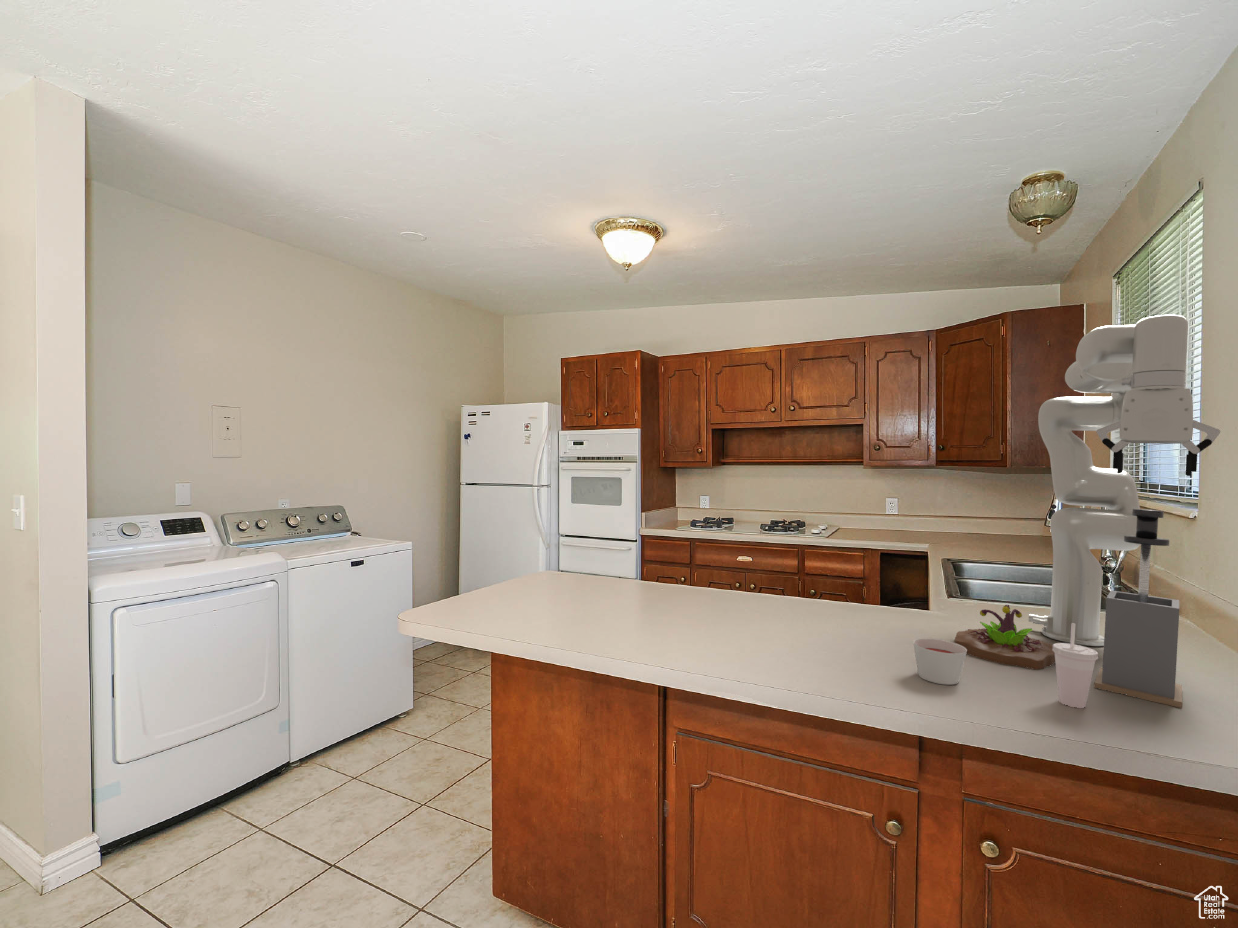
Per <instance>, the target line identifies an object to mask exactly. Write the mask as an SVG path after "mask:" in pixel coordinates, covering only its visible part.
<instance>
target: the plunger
mask: <svg viewBox="0 0 1238 928" xmlns="http://www.w3.org/2000/svg"><path fill="white" fill-rule="evenodd" d="M1164 514H1165V513H1164V510H1157V509H1145V508H1140V509H1132V516H1137V524H1136V536H1132V535H1125V536H1124V541H1125V542H1129V543H1136V544H1141V545H1140V556H1139V558H1140V559H1139V573H1138V575H1139V577H1138V591H1137V594H1138V602H1144V603H1148V596H1149V589H1150V588H1149V587H1150V573H1151V572H1150V571H1151V570H1150V568H1151V554H1152V553H1151V552H1152V551H1151V550H1152V548H1151V547H1152V546H1159V547H1166V546H1167V547H1168V546H1170V539H1168V538H1163V537H1158V530H1159V529H1158V527H1159V519H1160V518H1161V519H1164Z"/></svg>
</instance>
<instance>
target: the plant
mask: <svg viewBox="0 0 1238 928" xmlns="http://www.w3.org/2000/svg"><path fill="white" fill-rule="evenodd" d="M1001 610H1002V613H1004V614H1005V615H1004V618H1002V617H1001V616H1000V615H999V614H998V613H997V612H995V611H993V610H990V609H981V610H980V611H979V614H980V616H982V617H985V616H987V614H988V613H989V614H991V615H993V616H994V617H995V618H996V619H997V620H998V622H999V623H998V624H997V623H995V622H994V621H992V620H991V621H990V624H991V625H989V624H988V623H985V622H982V621H980V622H979V623H980V624H981V626H983V627H984V628H972V629H971V628H969V629H967V630H960V631H957V632H956V634H955V638H954V643H956V644H959V645H961V646H963V647H965V648H966V649H967V653H966V654H968V655H970V656H973V657H975V658H977V659H978V658H979V659H983V660H986V661H990V662H994V663H998V664H1001V665H1002V664H1003V665H1008V666H1016V665H1017V666H1018V667H1022V668H1027V667H1028V669H1031V668H1033V670H1037V671H1039V670H1045V669H1046V668H1047V666H1048V667H1051V666H1053V665H1054V664H1055V663H1054V662H1055V653H1054V651H1052V649H1053V643H1049V642H1046V641H1043V640H1040V639H1036V638H1031V637H1029V636H1028V634H1029V633H1030V632H1032V631H1033V628H1023V629H1020V630H1019V631H1018V630H1017V625H1016V624H1015V622H1014V621H1015V619H1014V617H1016V618H1018V619H1020V618H1022V617H1023V614H1022V612H1020V610H1018V609H1016V608H1014V609H1012V611H1011V607H1010V605H1009V604H1005V605H1003V607H1002V608H1001ZM1017 631H1018V632H1017ZM1053 663H1054V664H1053ZM1050 665H1051V666H1050Z"/></svg>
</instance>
